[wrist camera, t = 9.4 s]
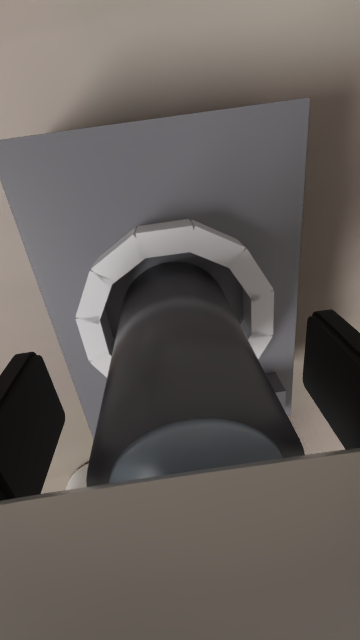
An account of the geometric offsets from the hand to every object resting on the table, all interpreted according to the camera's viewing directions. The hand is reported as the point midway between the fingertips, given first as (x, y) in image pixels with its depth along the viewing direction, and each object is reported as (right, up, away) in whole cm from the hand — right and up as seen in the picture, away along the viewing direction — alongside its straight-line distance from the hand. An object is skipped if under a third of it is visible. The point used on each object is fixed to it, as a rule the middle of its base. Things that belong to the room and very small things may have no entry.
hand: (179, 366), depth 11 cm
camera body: (0, +4, +9) cm, 10 cm away
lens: (0, +2, +4) cm, 5 cm away
